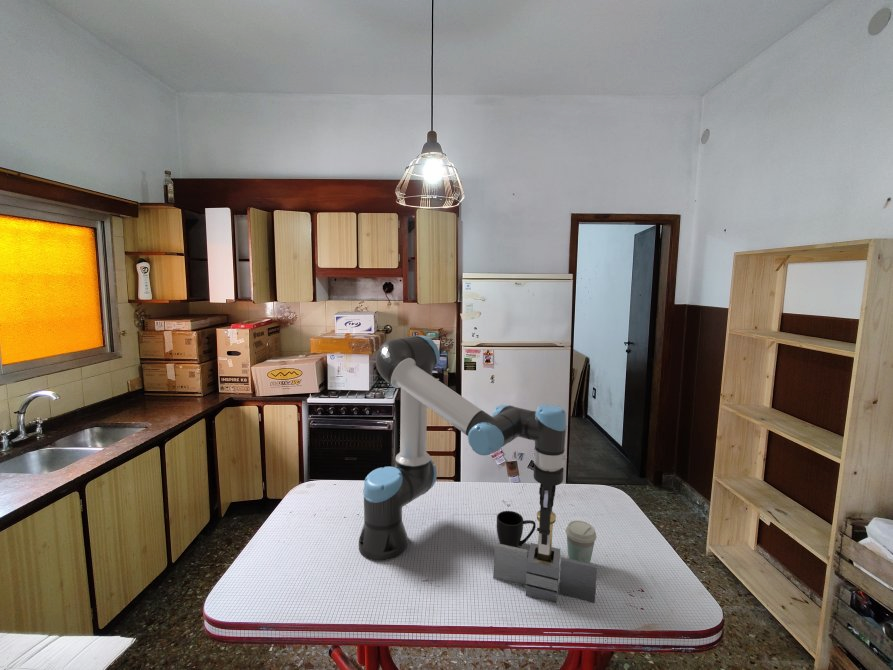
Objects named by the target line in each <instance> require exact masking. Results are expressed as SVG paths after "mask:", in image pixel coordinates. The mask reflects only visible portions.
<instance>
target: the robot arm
mask: <svg viewBox="0 0 893 670" xmlns="http://www.w3.org/2000/svg"><path fill="white" fill-rule="evenodd" d="M440 354H441V353H440V349H439V347H438V345H437V344H436V342H435V341H434V340H433V339H432V338H431V337H430V336H429V337H428V336H426V335H412V336H405V337H402V338H401V337H399V338H393V339H390V340H387V341H385V342H384V343H382V344H381V345H380V347H379V348H378V350H377V352H376V353H375V366H376V370H377V372H378V373H379V375H380V376H381V377H382V379H384V380H385V382H387V383H388V384H389V385H390V386H392V387H393V388H395V389H400V429H399V431H400V432H399V434H400V437H399V438H400V439H399V441H400V443H399V444H400V445H399V447H400V448H399V452H398V453H397V454H396V456H395V460H394V461H395V466H384V467H382V466H381V467H378V468H375V469H373V470H372V471H370V472H369V473H368V474H367V476H365V478H364V482H363V483H364V484H363V490H362V491H363V492H362V493H363V511H364V512H363V519H364V520H363V521H364V522H363V526H362V529H361V532H360V535H359V537H358V550H359V553H360V554H361V555H362V556H363V557H364V558H366V559H368V560H370V561H376V562H384V561H390V560H393V559H396V558H397V557H400V556H401V555H402V554H403V553H404V552H405V551H406V550H407V548H408V544H409V543H408V537H409V536H408V534H407V531H406V528H405V526H404V522H403V507H405V506H406V505H407V504H409V503H411V502H413V501H414V500H416V499H418V498H419V497H421V496H423V495H425V494H426V493H428V492H429V490H431V489H432V488H433V487H434V486H435V484H436V481H437V477H438V476H437V475H438V471H437V467H436V466H435V465H434V463H435V462H434V461H433V460H432V458H431V455H430V454H429V453H428V452H427V425H428V423H427V419H428V417H427V416H428V412H427V411H428V409H430V410H431V411H433V412H434V413H435V414H437V415H438V416H439V417H441V418H442V419H444V420H445V421H446V422H447V423H449V424H450V425H452V426H453V427H454V428H456V429H457V430H459V431H460V432H461V433H463V434H464V435H465V436H467V440H468V444H469V446H470V447H471V450H472V451H473V452H474V453H476V454H478V455H479V456H489V455H492V454H494V453H496V452H498V451H501V449H502V448H503V447H504V446H506V445H507V444H509V443H511V442H512V441H515V440H516V439H517V438H523V439H526V440H530V441H534V451H533V452H534V453H533V455H534V456H533V463H534V464H533V479H534V480H535V482H537V483H539V484H540V485H539V491H538V495H539V506H540V508H539V509H540V510H539V511H540V528H539V527H537V529H536V532H538V538H539V553H540V554H545V555H549V549H550V518H551V511H552V512H553V506H554V500H555V496H556V489H557V488H556V487H557V486H558V485H561V484H562V483H563V482H564V472H565V471H564V466H565V462H564V461H565V460H567V458H568V457H567V455H566V454H565V449H566V448H565V447H566V446H565V445H566V435H567V434H566V433H567V432H566V431H567V413H566V410H565V409H564V408H563V407H560V406H557V405H554V404H551V405H549V404H542V405H539V406H538V407H537V408H536V410H531V409H526V408H525V409H524V408H522V407H517V406H514V405H510V404H509V405H507V404H500V405H497V406H496V407H495V409H494V410H493V412H492V415H490V414H489V413H487V412H486V411H484V410H482V409H481V408H479V407H478V406H477V405H475V404H474V403H472V402H470V401H469V400H468V399H466V398H464V397H463V396H462V395H460V394H459V393H457V392H456V391H454V390H453V389H451V388H450V387H449V386H447V385H446V384H444V383H442V382H441V381H440V380H438V379H437V378H436V377H435V376H433V369H435V368H436V367H437V365H439V362H440V358H441V356H440ZM427 408H428V409H427Z"/></svg>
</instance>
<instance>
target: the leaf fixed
mask: <svg viewBox="0 0 893 670" xmlns="http://www.w3.org/2000/svg"><path fill="white" fill-rule="evenodd" d="M535 557H537V558H538V543H534V542H530V545H529V549H528V557H527V572H531V573H535V574H539V575H543V576H548V577H552V578H556V579H558V581H559V584H558V589H557V591H554V590H550V589H546V588H542V587H538V586H534V585H530V584H526V586H525V596H526V597H530V598H534V599H537V600H540V601H546V602H549V603H553V604H557V602H558V595H559V596H564V597H568V598H572V599H576V600H579V601H583V602H588V603H592V604H596V589H597V577H598V576H597V575H598V565H597V564H594V563H591V562H590V563H585V562H581V561H576V560H571V559H568V557H566V558H565V557H561V548H557V547H553V546H552V549H551V561H553V563H550V562H546V561H541V560H537V559H535ZM559 562H560V563H559ZM558 574H559V577H558Z"/></svg>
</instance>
